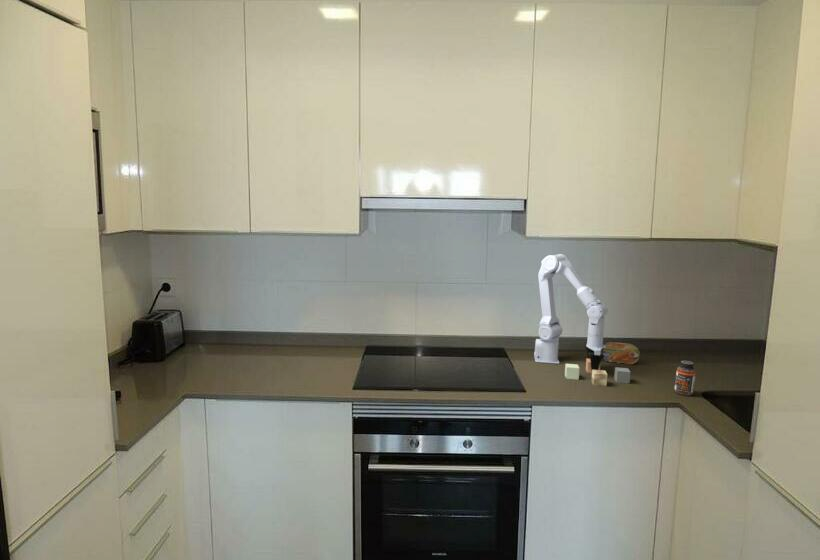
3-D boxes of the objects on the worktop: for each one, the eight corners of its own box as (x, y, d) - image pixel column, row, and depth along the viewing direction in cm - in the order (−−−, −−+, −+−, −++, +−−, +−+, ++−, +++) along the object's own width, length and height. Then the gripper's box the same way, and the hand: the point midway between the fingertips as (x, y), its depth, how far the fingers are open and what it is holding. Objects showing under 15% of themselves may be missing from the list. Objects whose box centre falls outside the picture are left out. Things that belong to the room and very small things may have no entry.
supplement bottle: (672, 393, 185) (676, 362, 183) (675, 388, 190) (678, 358, 188) (692, 397, 182) (695, 365, 180) (694, 392, 187) (697, 361, 185)
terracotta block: (587, 373, 205) (588, 361, 205) (585, 369, 210) (586, 358, 209) (599, 373, 205) (600, 362, 204) (597, 370, 209) (598, 359, 208)
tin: (600, 361, 220) (601, 341, 219) (599, 359, 223) (601, 339, 222) (639, 365, 216) (641, 345, 214) (638, 363, 219) (640, 343, 217)
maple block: (593, 385, 192) (594, 373, 191) (591, 381, 196) (592, 369, 195) (606, 386, 191) (607, 374, 190) (604, 382, 195) (605, 370, 195)
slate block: (616, 382, 195) (617, 371, 194) (614, 378, 199) (615, 367, 199) (629, 383, 194) (630, 372, 194) (626, 379, 199) (627, 368, 198)
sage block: (566, 378, 198) (566, 367, 197) (564, 374, 202) (565, 363, 202) (578, 379, 197) (579, 368, 197) (576, 375, 202) (577, 364, 201)
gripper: (610, 339, 197) (607, 374, 199) (602, 330, 211) (600, 363, 213) (590, 338, 198) (587, 373, 200) (584, 329, 212) (582, 361, 214)
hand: (592, 367), depth 207 cm, fingers open, 7 cm apart
